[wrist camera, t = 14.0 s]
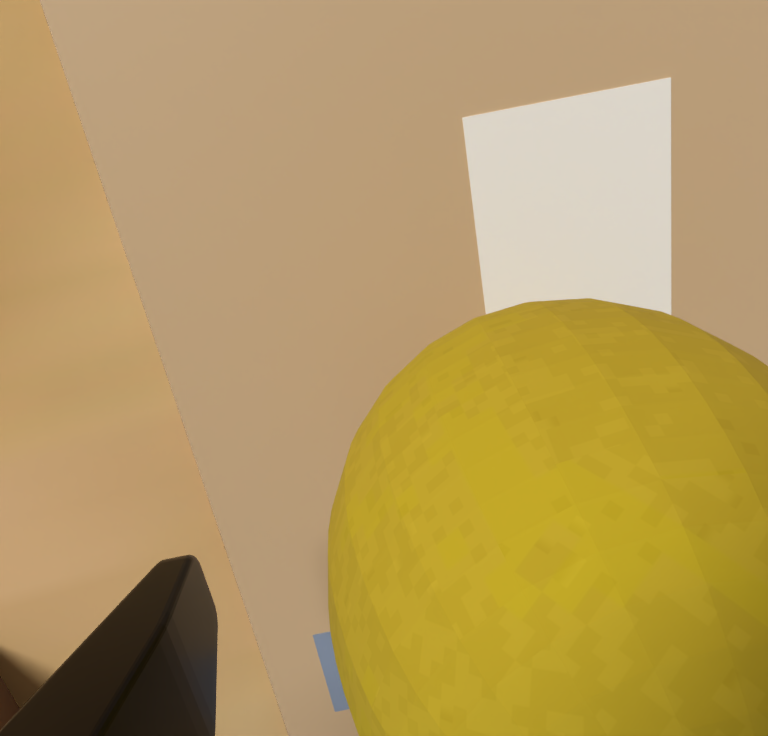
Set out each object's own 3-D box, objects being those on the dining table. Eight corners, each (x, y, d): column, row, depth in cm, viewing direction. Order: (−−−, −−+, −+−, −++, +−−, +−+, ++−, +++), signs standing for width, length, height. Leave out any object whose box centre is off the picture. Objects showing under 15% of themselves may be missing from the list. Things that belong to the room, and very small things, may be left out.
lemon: (742, 304, 11) (1561, 828, 4) (567, 576, 13) (880, 1263, 6) (412, 161, 10) (682, 540, 2) (273, 488, 12) (198, 1227, 4)
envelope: (781, 645, 15) (790, 657, 14) (295, 742, 15) (295, 756, 14) (854, -201, 9) (874, -209, 8) (33, -44, 9) (23, -47, 8)
